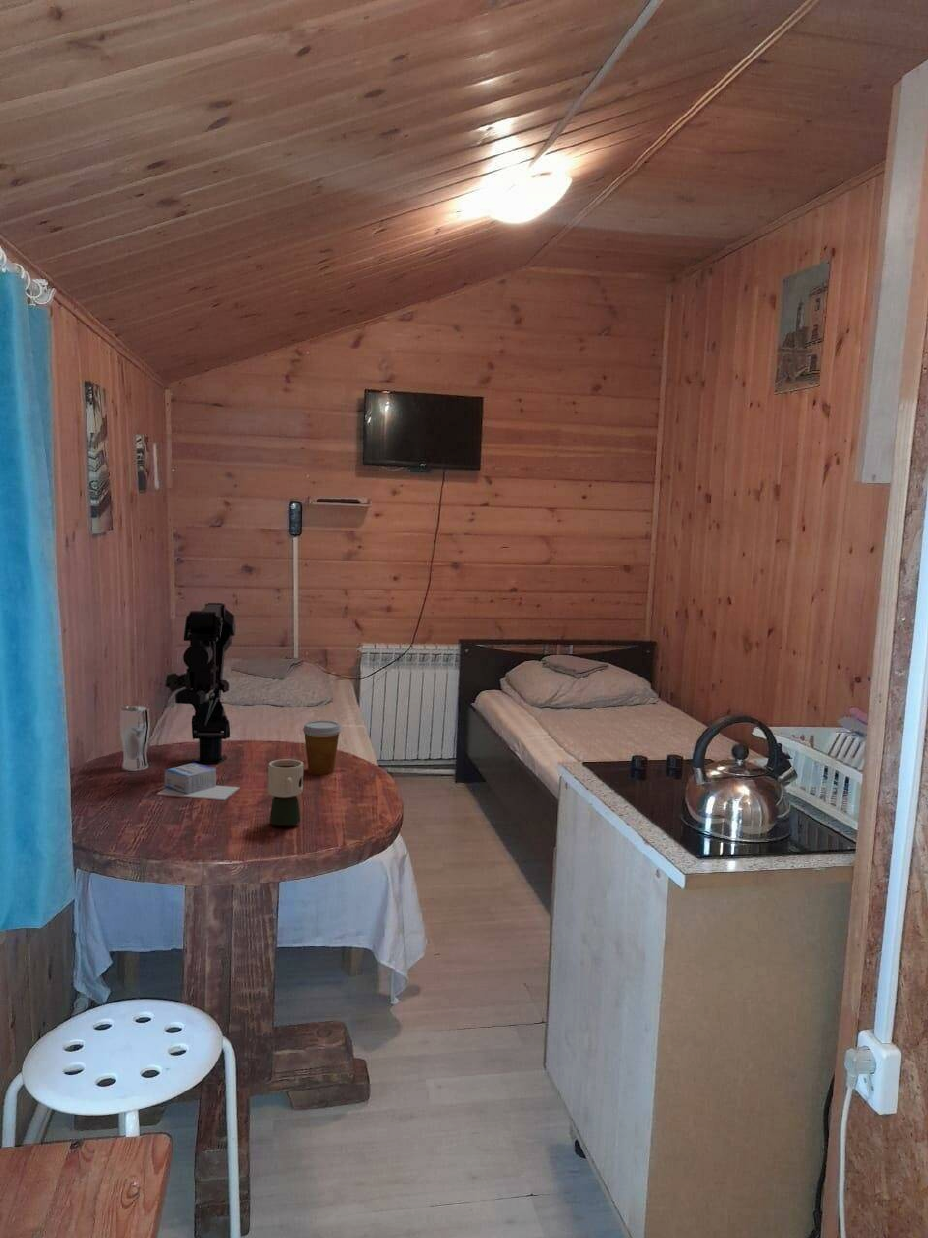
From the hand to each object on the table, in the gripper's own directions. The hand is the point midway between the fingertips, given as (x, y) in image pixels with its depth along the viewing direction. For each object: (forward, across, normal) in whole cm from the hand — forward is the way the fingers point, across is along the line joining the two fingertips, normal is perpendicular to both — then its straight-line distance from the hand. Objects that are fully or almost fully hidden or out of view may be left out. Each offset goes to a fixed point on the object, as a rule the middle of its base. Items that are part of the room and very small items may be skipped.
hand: (202, 726), depth 222 cm
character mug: (+12, +30, +31) cm, 45 cm away
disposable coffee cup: (+12, -10, +27) cm, 31 cm away
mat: (+12, +14, +5) cm, 19 cm away
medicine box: (+10, +8, +4) cm, 13 cm away
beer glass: (+12, -1, -18) cm, 22 cm away
